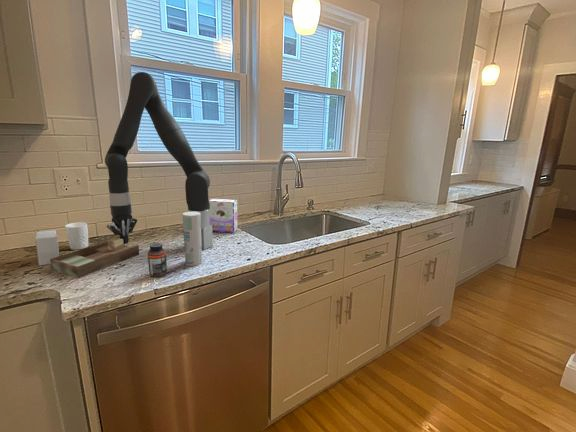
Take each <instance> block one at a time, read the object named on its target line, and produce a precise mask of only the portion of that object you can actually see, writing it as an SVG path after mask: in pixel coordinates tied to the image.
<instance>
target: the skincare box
mask: <svg viewBox="0 0 576 432" xmlns="http://www.w3.org/2000/svg"><path fill="white" fill-rule="evenodd" d="M34 240H35V247H36V254H37V260H38V266H43V265H44V266H46V265H51V262H50V259H52V258H55V257H58V256H60V251H59V249H60V247H59V241H58V236H57V230H56V229H55V230H54V229H52V230H41V231H40V230H39V231H36V234H35V239H34Z"/></svg>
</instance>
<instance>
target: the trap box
mask: <svg viewBox="0 0 576 432" xmlns="http://www.w3.org/2000/svg"><path fill="white" fill-rule="evenodd" d="M139 255H140V248H139V245H135V246H128V245H126V244H124V249H121V250H118V251H112V250H108V241H104V242H101V243H98V244H95V245H91V246H88V247H86V248H83V249H77V250H75V251H72V252H68V253H65V254H63V255H59V256H58V257H55V258H52V259H50V262H51V264H50V269H51V270H52V271H55V272H59V273H61V274H65V275H68V276H70V277H74V278H77V279H80V278H83V277H86V276H88V275H90V274H94V273H95V272H98V271H101V270H103V269H106V268H108V267H111V266H114V265H116V264H119V263H121V262H124V261H126V260H129V259H131V258H134V257H137V256H139Z"/></svg>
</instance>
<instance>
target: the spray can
mask: <svg viewBox="0 0 576 432" xmlns="http://www.w3.org/2000/svg"><path fill="white" fill-rule="evenodd" d="M182 229H183V230H182V231H183V245H184V259H185V260H184V261H185V265H186V266H187V267H188V266H189V267H196V266H199V265H201V264H202V262H203V254H202V253H203V249H202V246H201V214H200V212H188V211H185V212H183V213H182Z"/></svg>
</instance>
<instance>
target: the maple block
mask: <svg viewBox="0 0 576 432" xmlns="http://www.w3.org/2000/svg"><path fill="white" fill-rule="evenodd" d="M107 241H108V250H112V251H118V250H121V249H124V245H125V244H124V243H123V239H120V237H114V238H111V239H107ZM107 241H106V242H107Z"/></svg>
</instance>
